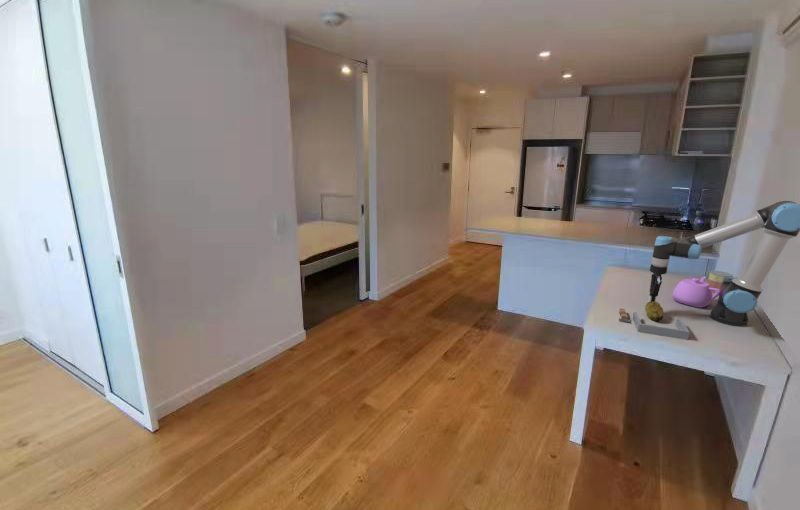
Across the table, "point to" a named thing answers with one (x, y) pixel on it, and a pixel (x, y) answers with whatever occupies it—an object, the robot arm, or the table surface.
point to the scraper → (623, 316)
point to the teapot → (694, 292)
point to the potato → (654, 311)
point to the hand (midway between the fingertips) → (650, 306)
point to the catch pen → (662, 329)
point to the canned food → (717, 279)
